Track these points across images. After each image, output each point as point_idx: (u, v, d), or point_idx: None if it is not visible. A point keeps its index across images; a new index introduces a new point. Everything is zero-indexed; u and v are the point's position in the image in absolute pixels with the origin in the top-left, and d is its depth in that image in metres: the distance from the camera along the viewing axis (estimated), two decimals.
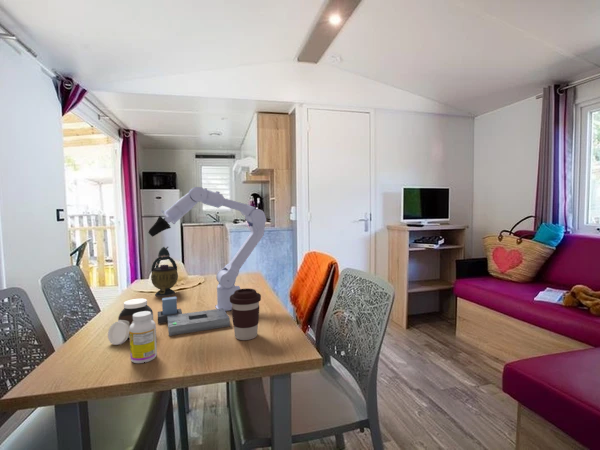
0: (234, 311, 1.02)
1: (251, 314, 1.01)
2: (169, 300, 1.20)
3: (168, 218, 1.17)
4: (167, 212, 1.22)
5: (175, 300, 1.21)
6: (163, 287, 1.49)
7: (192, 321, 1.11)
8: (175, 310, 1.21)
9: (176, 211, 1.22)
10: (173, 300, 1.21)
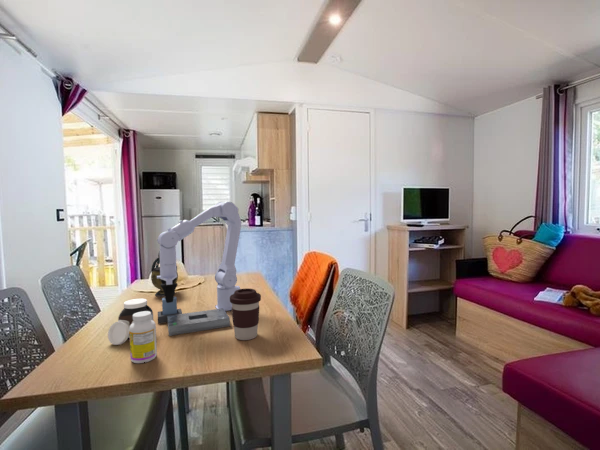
0: (234, 311, 1.02)
1: (251, 314, 1.01)
2: None
3: (168, 281, 1.14)
4: (162, 275, 1.19)
5: (175, 300, 1.21)
6: None
7: (192, 321, 1.11)
8: (175, 310, 1.21)
9: (167, 268, 1.18)
10: (173, 300, 1.21)
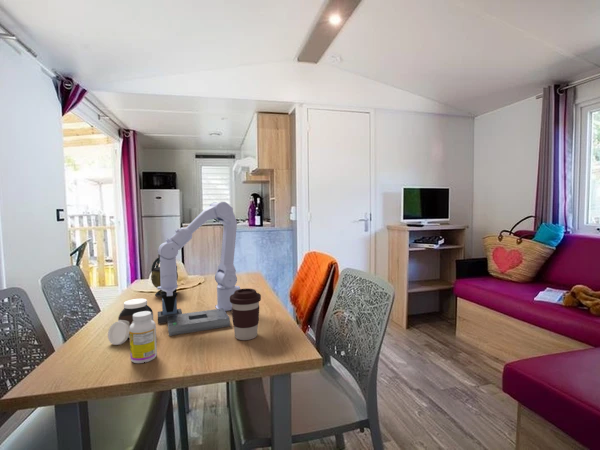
0: (234, 311, 1.02)
1: (251, 314, 1.01)
2: None
3: (168, 292, 1.15)
4: (162, 286, 1.19)
5: (175, 300, 1.21)
6: None
7: (192, 321, 1.11)
8: (175, 310, 1.21)
9: (168, 279, 1.19)
10: None
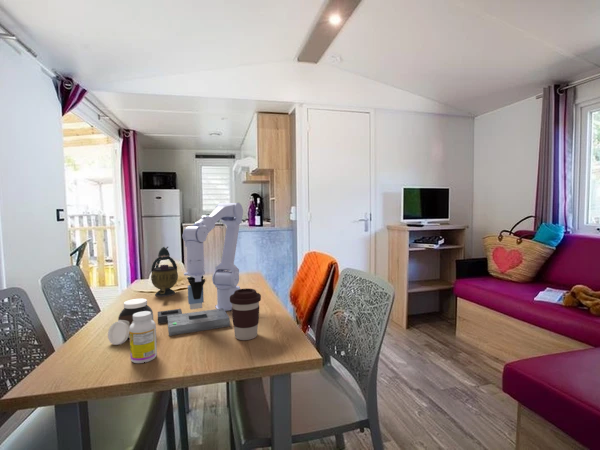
0: (234, 311, 1.02)
1: (251, 314, 1.01)
2: None
3: (197, 278, 1.08)
4: (190, 272, 1.12)
5: None
6: (163, 287, 1.49)
7: (192, 321, 1.11)
8: (201, 298, 1.15)
9: (195, 264, 1.12)
10: None
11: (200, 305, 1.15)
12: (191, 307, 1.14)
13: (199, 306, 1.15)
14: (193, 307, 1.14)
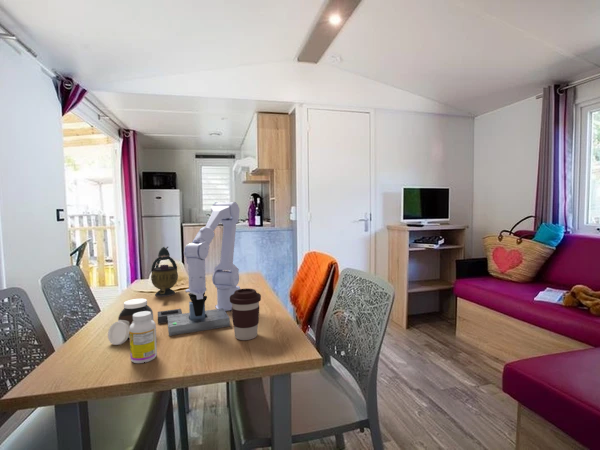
0: (234, 311, 1.02)
1: (251, 314, 1.01)
2: None
3: (198, 295, 1.08)
4: (191, 289, 1.12)
5: None
6: (163, 287, 1.49)
7: (192, 321, 1.11)
8: (203, 315, 1.15)
9: (197, 281, 1.12)
10: None
11: None
12: None
13: None
14: None
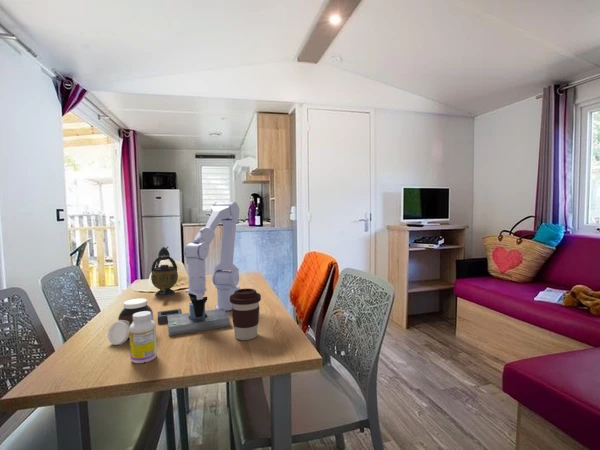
0: (234, 311, 1.02)
1: (251, 314, 1.01)
2: None
3: (198, 296, 1.08)
4: (191, 289, 1.12)
5: None
6: (163, 287, 1.49)
7: (192, 321, 1.11)
8: (203, 316, 1.15)
9: (197, 281, 1.12)
10: None
11: None
12: None
13: None
14: None
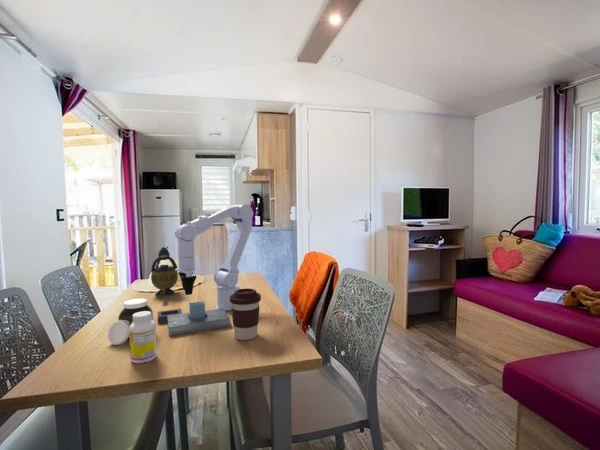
0: (234, 311, 1.02)
1: (251, 314, 1.01)
2: (197, 305, 1.14)
3: (188, 273, 1.16)
4: (181, 268, 1.20)
5: (203, 305, 1.15)
6: (163, 287, 1.49)
7: (192, 321, 1.11)
8: (203, 316, 1.15)
9: (186, 260, 1.20)
10: (201, 305, 1.14)
11: None
12: None
13: None
14: None
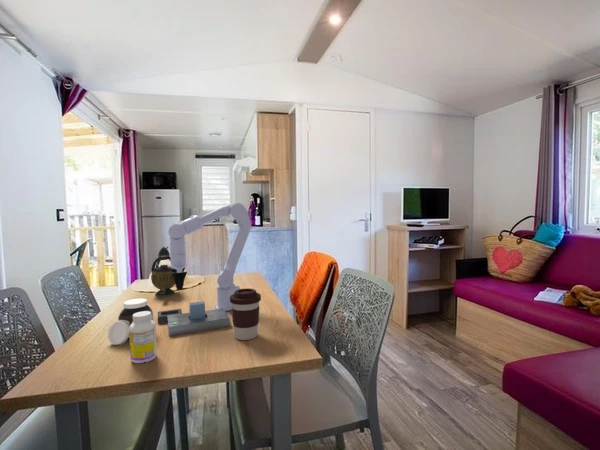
0: (234, 311, 1.02)
1: (251, 314, 1.01)
2: (197, 305, 1.14)
3: (178, 269, 1.23)
4: (172, 264, 1.27)
5: (203, 305, 1.15)
6: (163, 287, 1.49)
7: (192, 321, 1.11)
8: (203, 316, 1.15)
9: (177, 257, 1.27)
10: (201, 305, 1.14)
11: None
12: None
13: None
14: None
